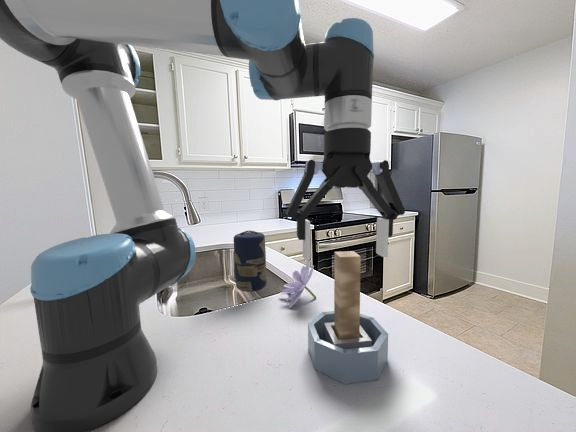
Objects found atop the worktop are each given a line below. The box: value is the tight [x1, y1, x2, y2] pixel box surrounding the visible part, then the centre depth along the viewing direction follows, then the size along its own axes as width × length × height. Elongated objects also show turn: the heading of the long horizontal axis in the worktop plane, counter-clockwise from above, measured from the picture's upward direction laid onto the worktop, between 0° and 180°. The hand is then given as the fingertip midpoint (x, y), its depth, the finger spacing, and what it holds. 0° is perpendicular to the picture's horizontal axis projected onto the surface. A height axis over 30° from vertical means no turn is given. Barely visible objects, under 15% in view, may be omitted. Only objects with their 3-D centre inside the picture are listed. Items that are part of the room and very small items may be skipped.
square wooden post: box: [333, 250, 362, 340], centre depth 44 cm, size 4×4×18 cm
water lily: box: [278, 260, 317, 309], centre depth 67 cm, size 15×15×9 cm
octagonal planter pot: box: [307, 310, 389, 385], centre depth 44 cm, size 13×13×5 cm
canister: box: [233, 230, 267, 293], centre depth 75 cm, size 10×10×18 cm
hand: (344, 256), depth 43 cm, fingers open, 13 cm apart
